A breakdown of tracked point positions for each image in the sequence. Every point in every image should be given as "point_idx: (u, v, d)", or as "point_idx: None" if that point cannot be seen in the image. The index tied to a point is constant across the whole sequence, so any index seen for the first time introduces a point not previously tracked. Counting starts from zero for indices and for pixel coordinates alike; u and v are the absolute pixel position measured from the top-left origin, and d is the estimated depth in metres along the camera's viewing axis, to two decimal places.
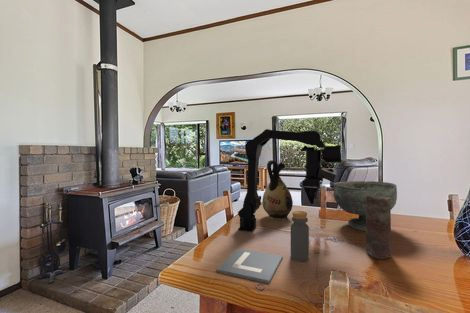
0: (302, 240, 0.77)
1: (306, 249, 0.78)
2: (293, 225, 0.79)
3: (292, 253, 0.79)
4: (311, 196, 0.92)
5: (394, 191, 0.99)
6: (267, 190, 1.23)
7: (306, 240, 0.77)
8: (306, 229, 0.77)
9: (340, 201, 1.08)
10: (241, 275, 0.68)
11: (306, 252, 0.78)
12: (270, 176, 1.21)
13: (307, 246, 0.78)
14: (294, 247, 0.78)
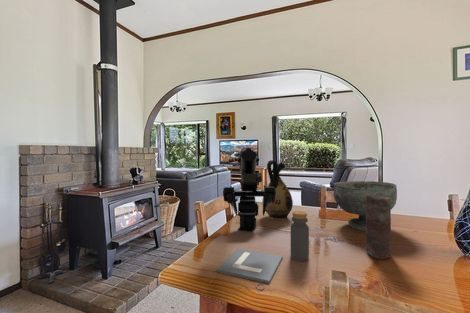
0: (302, 240, 0.77)
1: (306, 249, 0.78)
2: (293, 225, 0.79)
3: (292, 253, 0.79)
4: (233, 207, 0.85)
5: (394, 191, 0.99)
6: None
7: (306, 240, 0.77)
8: (306, 229, 0.77)
9: (340, 201, 1.08)
10: (241, 275, 0.68)
11: (306, 252, 0.78)
12: (270, 176, 1.21)
13: (307, 246, 0.78)
14: (294, 247, 0.78)
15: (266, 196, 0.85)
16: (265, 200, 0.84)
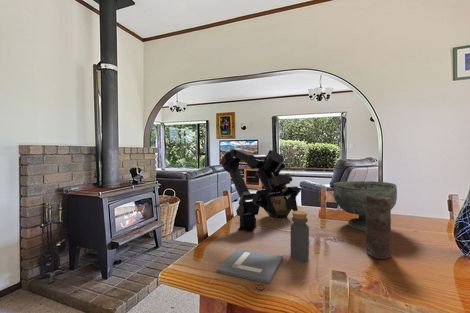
0: (302, 240, 0.77)
1: (306, 249, 0.78)
2: (293, 225, 0.79)
3: (292, 253, 0.79)
4: (270, 209, 0.84)
5: (394, 191, 0.99)
6: None
7: (306, 240, 0.77)
8: (306, 229, 0.77)
9: (340, 201, 1.08)
10: (241, 275, 0.68)
11: (306, 252, 0.78)
12: None
13: (307, 246, 0.78)
14: (294, 247, 0.78)
15: (294, 195, 0.90)
16: (294, 199, 0.90)
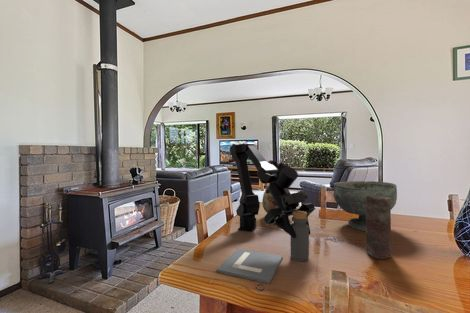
0: (302, 240, 0.77)
1: (306, 249, 0.78)
2: (293, 225, 0.79)
3: (292, 253, 0.79)
4: (288, 229, 0.79)
5: (394, 191, 0.99)
6: None
7: (306, 240, 0.77)
8: (306, 229, 0.77)
9: (340, 201, 1.08)
10: (241, 275, 0.68)
11: (306, 252, 0.78)
12: None
13: (307, 246, 0.78)
14: (294, 247, 0.78)
15: None
16: None
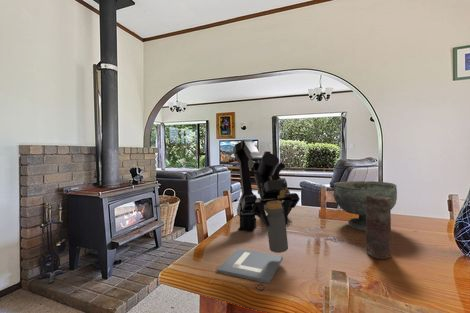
0: (276, 231, 0.73)
1: (281, 240, 0.74)
2: (267, 215, 0.76)
3: (269, 244, 0.76)
4: (262, 217, 0.76)
5: (394, 191, 0.99)
6: None
7: (280, 231, 0.73)
8: (279, 219, 0.73)
9: (340, 201, 1.08)
10: (241, 275, 0.68)
11: (282, 243, 0.74)
12: None
13: (283, 237, 0.74)
14: (270, 238, 0.75)
15: (286, 204, 0.78)
16: (285, 208, 0.78)
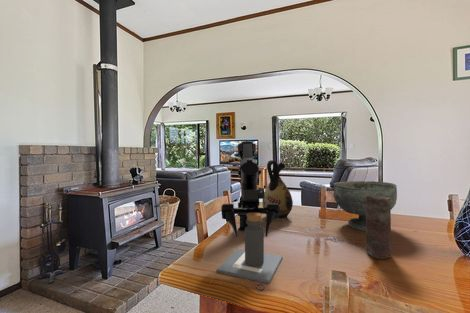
0: (250, 243, 0.72)
1: (255, 254, 0.72)
2: None
3: None
4: (232, 226, 0.76)
5: (394, 191, 0.99)
6: (267, 190, 1.23)
7: (255, 244, 0.72)
8: (255, 233, 0.72)
9: (340, 201, 1.08)
10: (241, 275, 0.68)
11: (255, 257, 0.72)
12: (270, 176, 1.21)
13: (257, 251, 0.72)
14: (245, 250, 0.75)
15: (269, 214, 0.76)
16: (268, 219, 0.76)
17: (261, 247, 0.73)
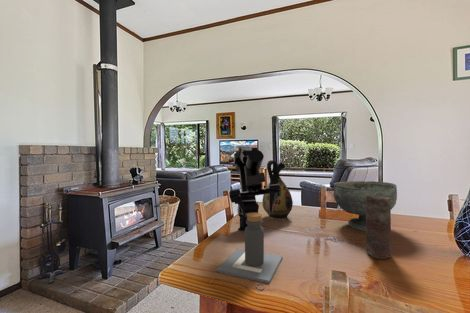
0: (250, 243, 0.72)
1: (255, 254, 0.72)
2: (246, 227, 0.75)
3: None
4: (241, 209, 0.87)
5: (394, 191, 0.99)
6: None
7: (255, 244, 0.72)
8: (255, 233, 0.72)
9: (340, 201, 1.08)
10: (241, 275, 0.68)
11: (255, 257, 0.72)
12: (270, 176, 1.21)
13: (257, 251, 0.72)
14: (245, 250, 0.75)
15: (271, 195, 0.86)
16: (271, 199, 0.86)
17: (261, 247, 0.73)
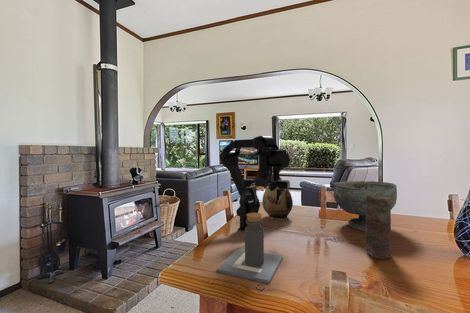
0: (250, 243, 0.72)
1: (255, 254, 0.72)
2: (246, 227, 0.75)
3: None
4: None
5: (394, 191, 0.99)
6: (267, 190, 1.23)
7: (255, 244, 0.72)
8: (255, 233, 0.72)
9: (340, 201, 1.08)
10: (241, 275, 0.68)
11: (255, 257, 0.72)
12: None
13: (257, 251, 0.72)
14: (245, 250, 0.75)
15: (278, 191, 0.95)
16: (278, 194, 0.96)
17: (261, 247, 0.73)
